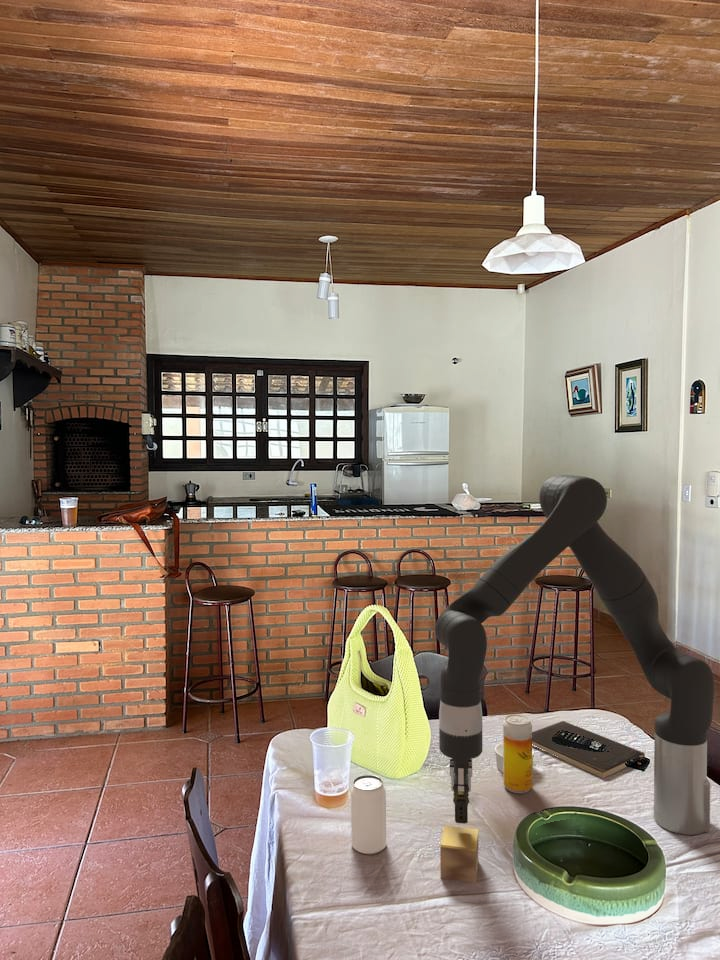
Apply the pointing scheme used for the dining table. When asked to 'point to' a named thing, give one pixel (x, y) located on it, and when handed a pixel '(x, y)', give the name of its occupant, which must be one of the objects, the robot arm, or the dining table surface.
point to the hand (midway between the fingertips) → (461, 820)
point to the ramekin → (500, 756)
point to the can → (368, 814)
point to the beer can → (517, 753)
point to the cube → (459, 854)
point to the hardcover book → (585, 759)
